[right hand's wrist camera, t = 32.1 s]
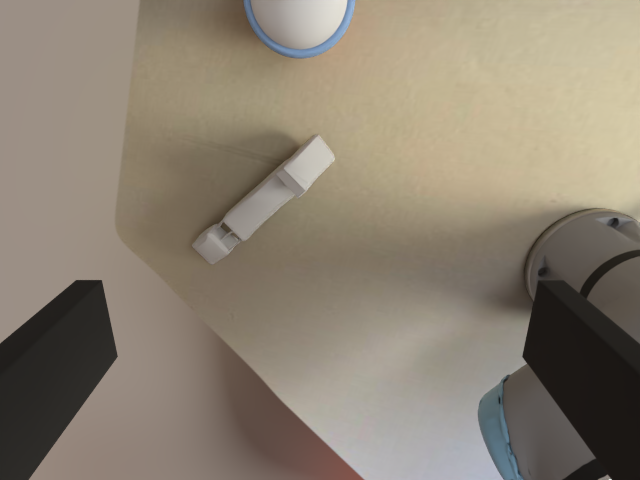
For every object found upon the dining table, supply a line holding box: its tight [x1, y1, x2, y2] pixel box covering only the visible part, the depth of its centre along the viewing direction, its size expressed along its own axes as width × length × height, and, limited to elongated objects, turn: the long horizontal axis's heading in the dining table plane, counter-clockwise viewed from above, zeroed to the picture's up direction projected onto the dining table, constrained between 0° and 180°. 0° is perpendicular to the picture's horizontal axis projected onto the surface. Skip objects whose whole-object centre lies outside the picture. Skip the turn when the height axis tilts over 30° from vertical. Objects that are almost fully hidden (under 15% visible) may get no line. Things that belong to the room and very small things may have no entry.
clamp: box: [192, 134, 335, 265], centre depth 48 cm, size 20×4×7 cm, turn 131°
